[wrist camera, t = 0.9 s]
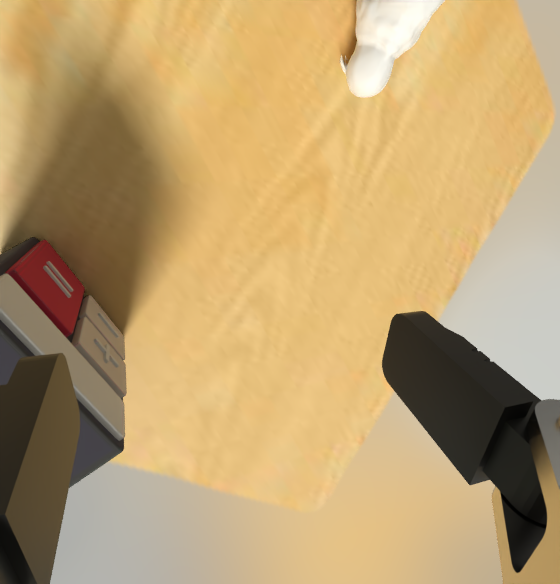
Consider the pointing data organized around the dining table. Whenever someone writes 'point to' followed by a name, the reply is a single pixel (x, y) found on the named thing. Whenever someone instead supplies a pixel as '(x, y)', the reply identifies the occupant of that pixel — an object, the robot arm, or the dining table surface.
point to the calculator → (65, 344)
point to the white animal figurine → (383, 40)
